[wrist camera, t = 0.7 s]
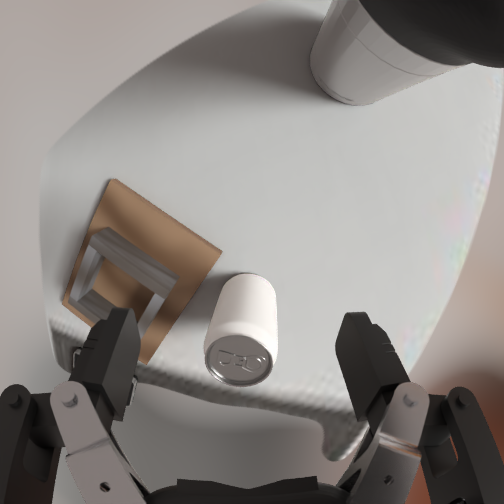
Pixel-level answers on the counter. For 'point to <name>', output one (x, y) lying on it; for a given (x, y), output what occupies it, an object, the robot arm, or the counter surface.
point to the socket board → (137, 266)
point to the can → (243, 332)
